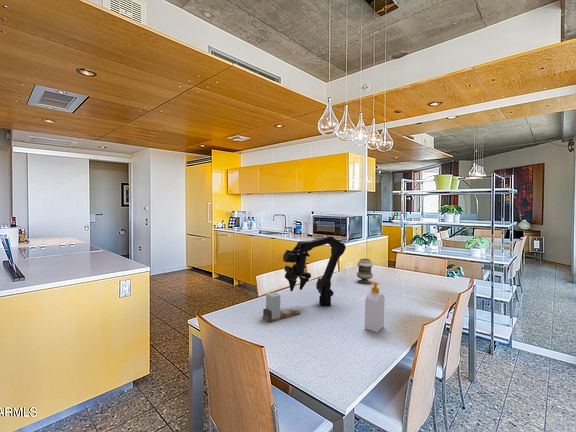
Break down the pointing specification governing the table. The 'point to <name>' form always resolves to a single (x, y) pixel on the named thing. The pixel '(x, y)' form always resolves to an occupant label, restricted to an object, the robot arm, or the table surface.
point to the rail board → (283, 314)
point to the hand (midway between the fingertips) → (296, 290)
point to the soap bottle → (374, 309)
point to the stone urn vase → (364, 270)
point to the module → (273, 304)
